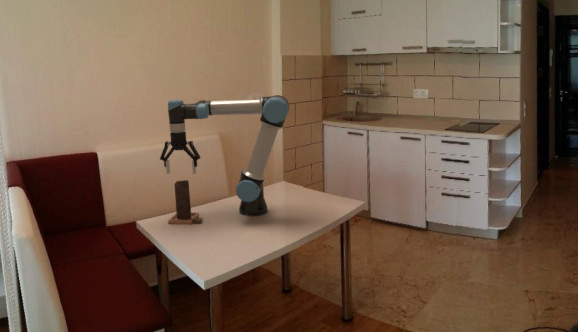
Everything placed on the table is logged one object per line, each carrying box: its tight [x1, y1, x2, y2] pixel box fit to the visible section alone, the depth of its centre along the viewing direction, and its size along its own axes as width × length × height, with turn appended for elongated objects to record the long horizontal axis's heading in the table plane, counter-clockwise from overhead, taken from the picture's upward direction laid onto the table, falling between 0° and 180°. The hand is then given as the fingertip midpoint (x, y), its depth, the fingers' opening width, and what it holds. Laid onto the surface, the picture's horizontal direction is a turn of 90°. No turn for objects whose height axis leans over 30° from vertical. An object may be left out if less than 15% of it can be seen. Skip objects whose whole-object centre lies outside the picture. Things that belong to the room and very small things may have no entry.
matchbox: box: [191, 217, 203, 225], centre depth 261 cm, size 5×3×2 cm, turn 82°
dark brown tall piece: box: [174, 179, 192, 219], centre depth 264 cm, size 8×7×20 cm
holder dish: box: [167, 211, 200, 225], centre depth 266 cm, size 12×13×2 cm
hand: (181, 173), depth 261 cm, fingers open, 13 cm apart
